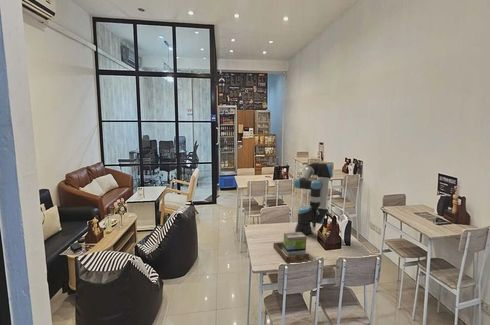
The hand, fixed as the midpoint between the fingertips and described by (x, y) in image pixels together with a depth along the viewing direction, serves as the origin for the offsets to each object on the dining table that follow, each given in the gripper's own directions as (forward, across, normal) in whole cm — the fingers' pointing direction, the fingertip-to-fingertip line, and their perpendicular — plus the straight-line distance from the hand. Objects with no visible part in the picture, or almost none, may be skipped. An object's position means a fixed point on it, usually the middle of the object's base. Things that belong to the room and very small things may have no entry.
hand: (313, 230), depth 224 cm
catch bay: (+17, +1, -19) cm, 25 cm away
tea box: (+17, 0, -16) cm, 23 cm away
